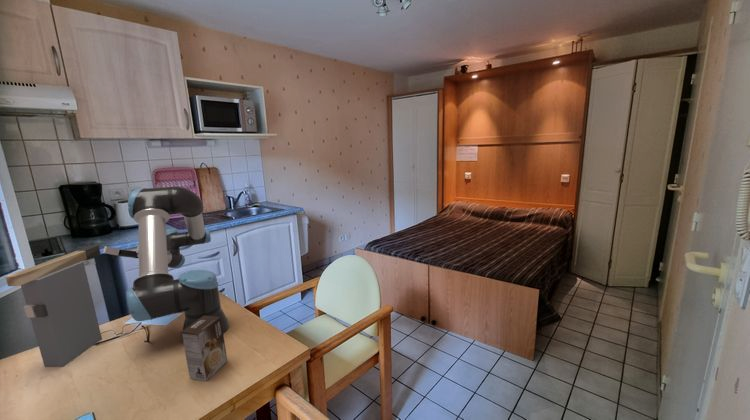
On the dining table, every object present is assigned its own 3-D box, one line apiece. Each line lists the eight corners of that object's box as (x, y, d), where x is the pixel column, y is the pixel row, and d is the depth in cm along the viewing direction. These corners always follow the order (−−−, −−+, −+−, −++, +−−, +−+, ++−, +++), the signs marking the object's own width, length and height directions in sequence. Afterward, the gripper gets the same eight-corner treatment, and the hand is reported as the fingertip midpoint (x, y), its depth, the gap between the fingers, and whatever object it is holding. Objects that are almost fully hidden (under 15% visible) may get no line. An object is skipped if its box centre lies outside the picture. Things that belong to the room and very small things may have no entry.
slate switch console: (102, 339, 111) (83, 261, 104) (59, 369, 96) (35, 281, 90) (85, 339, 111) (66, 262, 104) (41, 369, 96) (15, 281, 90)
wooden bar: (100, 254, 112) (98, 245, 112) (19, 286, 87) (16, 275, 86) (91, 254, 112) (89, 245, 112) (7, 286, 87) (4, 275, 86)
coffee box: (211, 358, 100) (204, 314, 97) (228, 360, 99) (221, 316, 95) (188, 378, 91) (180, 331, 88) (206, 382, 90) (199, 334, 86)
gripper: (182, 264, 142) (149, 258, 122) (130, 265, 143) (88, 258, 123) (185, 249, 144) (153, 240, 124) (134, 249, 145) (93, 240, 125)
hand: (121, 249), depth 123 cm, fingers open, 13 cm apart
